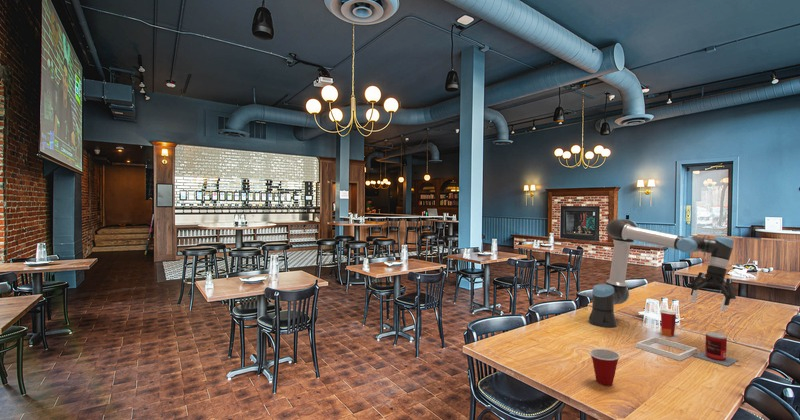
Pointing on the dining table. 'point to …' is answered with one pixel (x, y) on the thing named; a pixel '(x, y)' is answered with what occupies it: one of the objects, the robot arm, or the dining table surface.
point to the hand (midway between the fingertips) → (707, 306)
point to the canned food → (716, 346)
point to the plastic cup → (604, 365)
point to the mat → (726, 362)
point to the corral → (688, 351)
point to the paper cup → (668, 321)
